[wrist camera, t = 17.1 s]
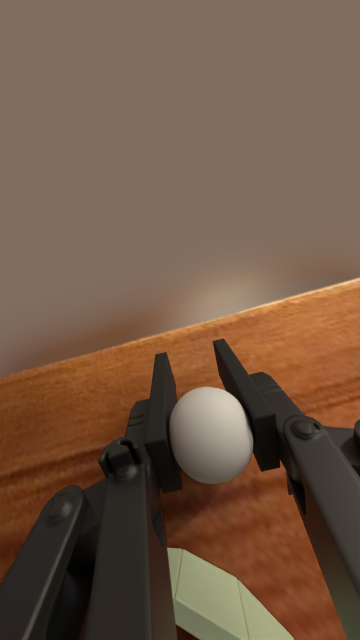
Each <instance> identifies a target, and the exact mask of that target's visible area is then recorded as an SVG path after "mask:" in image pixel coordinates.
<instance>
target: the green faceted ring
mask: <svg viewBox="0 0 360 640" xmlns="http://www.w3.org/2000/svg"><path fill="white" fill-rule="evenodd" d="M167 550H168V559H169V568H170V577H171V586H172V595H173V604H174V613H175V622H176V625H178V626H179V627H181V628H182V629H184V630H185V631H187V632H189V633H190V634H192V635H193V636H195V637H196V638H198V639H199V640H294V638H293V637H292V636H291V635H290V634H289V633H288V632H287V631H286V630H285V628H284V627H283V626H282V625H281V624H280V623H279V622H278V621H277V620H276V619H275V618H274V617H273V616H272V615H271V614H270V613H269V612H268V611H267V610H266V608H265V607H264V606H263V605H262V604H261V603H260V602H259V601H258V600H257V599H256V598H255V597H254V596H253V595H252V594H251V593H250V592H249V591H248V589H247V588H246V587H245V586H244V585H243V584H242V583H241V582H240V581H239V580H237V578H236V577H234V576H232V575H230V574H228V573H227V572H225V571H223V570H221V569H219V568H217V567H216V566H214V565H212V564H210V563H208V562H206V561H204V560H203V559H201V558H199V557H197V556H195V555H193V554H192V553H190V552H188V551H186V550H184V549H183V551H182V549H180V548H167Z"/></svg>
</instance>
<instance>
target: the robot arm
mask: <svg viewBox="0 0 360 640" xmlns="http://www.w3.org/2000/svg"><path fill="white" fill-rule="evenodd" d="M213 345H214V350H215V355H216V361H217V366H218V371H219V376H220V378H221V380H222V382H223V385H224V387H225V389H226V392H228V393H230V394H231V395H232V396H234V397H235V398H236V399H237V400H238V401H239V403H240V404H241V405H242V407H243V408H244V410H245V412H246V414H247V416H248V418H249V421H250V424H251V427H252V432H253V454H254V456H255V458H256V460H257V463H258V465H259V467H260V470H261V472H262V471H266V470H271V469H275V468H280V460H281V462H282V464H283V465H284V467H285V469H286V475H287V488H288V493H289V495H292V494H293V497H294V499H295V502H296V504H297V507H298V510H299V512H300V515H301V518H302V520H303V523H304V526H305V528H306V531H307V534H308V536H309V539H310V542H311V544H312V547H313V550H314V552H315V555H316V558H317V560H318V563H319V565H320V568H321V571H322V573H323V576H324V579H325V581H326V584H327V587H328V589H329V592H330V595H331V597H332V600H333V603H334V605H335V608H336V611H337V613H338V616H339V619H340V621H341V624H342V626H343V629H344V632H345V634H346V637H347V640H360V420H358V421H357V422H356V423H355V427H354V429H348V428H333V427H327V426H323V425H322V424H321V423H320V422H318V421H316V420H315V419H313V418H311V417H308V416H305V415H304V414H303V413H302V412H301V411H300V410H299V408H298V407H297V406H296V405H295V404H294V403H293V401H292V400H291V399H290V398H289V397H288V396H287V395H286V393H285V392H284V391H282V389H281V388H280V386H279V385H277V383H276V382H275V381H274V380H273V378H272V377H271V376H269V375H267V374H265V373H263V372H259V373H255V374H251V375H248V373H247V372H246V370H245V369H244V367H243V366H242V364H241V363H240V361H239V360H238V359H237V357H236V356H235V354H234V353H233V351H232V350H231V348H230V347H229V345H228V344H227V343H226V341H225V340H224V339H220V340H216V341H213ZM176 404H177V398H176V384H175V381H174V377H173V374H172V370H171V367H170V363H169V359H168V356H167V352H164V353H160V354H156V355H155V362H154V370H153V378H152V386H151V393H150V399H146V400H141V401H137V402H136V403H135V405H134V406H133V408H132V409H131V413H130V417H129V421H128V425H127V426H128V427H127V429H126V434H125V437H121V438H118V439H116V440H114V441H113V442H111V443H110V444H109V445H108V446H107V447H106V448H105V449H104V451H103V452H102V454H101V456H100V459H99V461H98V462H99V464H100V466H101V468H102V470H103V472H104V474H105V476H106V477H105V478H104V479H102V480H101V481H99V482H98V483H96V484H94V485H92V486H91V487H89V488H87V489H85V490H84V491H82V489H81V488H80V487H79V486H77V485H71V486H68V487H65V488H63V489H62V490H61V491H59V492H58V493H56V494H55V495H54V496H53V497H52V498H51V499H50V500H49V501H48V503H47V504H46V506H45V507H44V509H43V510H42V512H41V514H40V515H39V517H38V519H37V521H36V523H35V525H34V526H33V528H32V530H31V532H30V534H29V535H28V537H27V539H26V541H25V543H24V545H23V546H22V548H21V550H20V552H19V554H18V555H17V557H16V559H15V561H14V563H13V565H12V566H11V568H10V570H9V572H8V574H7V575H6V577H5V579H4V581H3V583H2V585H1V586H0V640H177V631H176V622H175V613H174V604H173V595H172V586H171V577H170V568H169V559H168V550H167V541H166V532H165V523H164V514H163V508H162V504H161V501H160V486H161V489H162V491H163V494H164V493H168V492H173V491H177V490H182V481H181V467H180V466H179V464H178V463H177V461H176V459H175V457H174V454H173V452H172V449H171V445H170V439H169V421H170V416H171V413H172V411H173V409H174V407H175V405H176ZM279 458H280V459H279Z"/></svg>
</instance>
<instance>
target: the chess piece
mask: <svg viewBox="0 0 360 640" xmlns="http://www.w3.org/2000/svg"><path fill="white" fill-rule="evenodd" d="M169 439H170V445H171V449H172V452H173V454H174V457H175V459H176V461H177V463H178V464H179V466H180V467H181V469H182V470H183V471H184V472H185V473H186V474H187V475H188V476H190V477H191V478H192V479H194V480H196V481H199V482H202V483H206V484H219V483H224V482H227V481H229V480H231V479H233V478H235V477H236V476H238V475H239V474H240V473H241V472H242V471H243V470H244V469H245V468H246V466H247V465H248V463H249V461H250V458H251V456H252V451H253V432H252V427H251V424H250V421H249V418H248V416H247V414H246V412H245V410H244V408H243V407H242V405H241V404H240V403H239V401H238V400H237V399H236V398H235V397H234V396H232V395H231V394H230V393H228V392H226V391H224V390H222V389H218V388H212V387H199V388H195V389H193V390H191V391H189V392H187V393H186V394H185V395H183V396H182V397H181V398H180V400H179V401H178V402H177V404H176V405H175V407H174V409H173V411H172V413H171V416H170V421H169Z"/></svg>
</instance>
